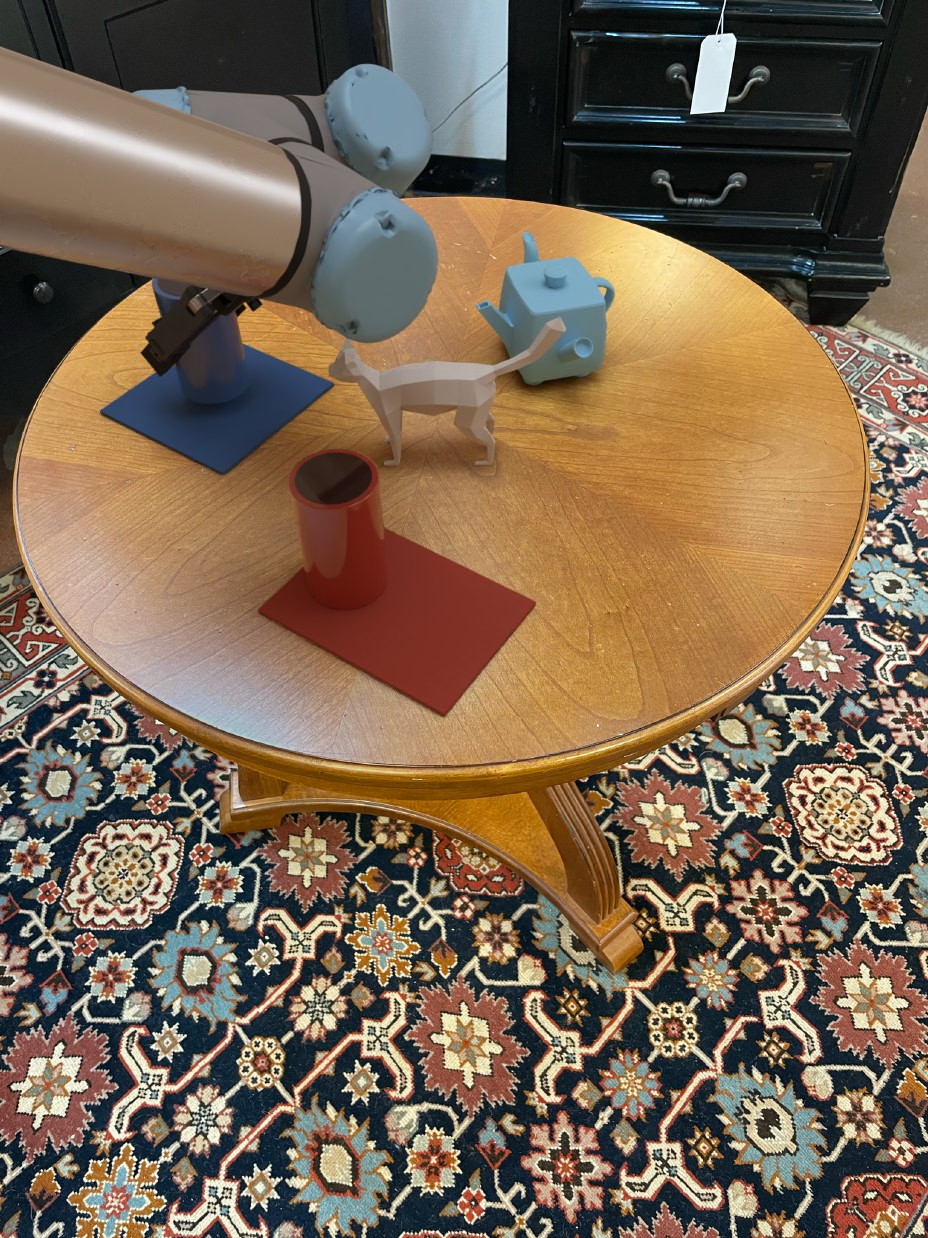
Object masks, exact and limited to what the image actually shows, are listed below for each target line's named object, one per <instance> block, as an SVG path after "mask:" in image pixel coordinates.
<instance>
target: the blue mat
mask: <svg viewBox="0 0 928 1238" xmlns="http://www.w3.org/2000/svg"><path fill="white" fill-rule="evenodd" d="M242 344H243V348H244V353H245V358H246V363H247V368H248V372H249V377H250V382H249V385H248V387H247V389H246V390H245V391H244V392H243V393H242V394H241V395H239V396H238V397H236V398H234V399H232V400H230V401H227V402H223V403H218V404H202V403H197V402H194V401H191V400H189V399H188V398H186V397H185V396H184V395H183V393H182V391H181V389H180V385H179V381H178V378H177V374H176V371H175V367H174V365H173V366H172V367H171V368H170V369H169V370H168V371H167V372H166V373H165V374H164V375H162V376H161V377H160V376H159V375H158V374H157V373H156V371H154V373H152V374H151V375H149V376H148V377H146V378H145V379H143V380H142V381H140V382H139V383H137V384H136V385H135V386H133V387H131V388H130V389H129V390H127V391H126V392H124V393H123V394H122V395H120V396H119V397H117V398H116V399H115V400H113V401H112V402H110V403H109V404H107V405H106V406H104V407H103V408H100V410H99V413H100V415H102V416H105V417H106V418H108V419H110V420H112V421H114V422H115V423H118V424H120V425H122V426H124V427H126V428H128V429H130V430H132V431H134V432H136V433H138V434H140V435H142V436H144V437H145V438H148V439H150V440H152V441H154V442H156V443H158V444H160V445H162V446H164V447H166V448H168V449H169V450H171V451H174V452H176V453H178V454H180V455H182V456H184V457H186V458H187V459H190V460H192V461H193V462H196V463H198V464H200V465H202V466H203V467H205V468H207V469H210V471H211V470H212V471H213V472H216V473H217V474H219V475H221V476H225V475H226V474H227V473H229V472H230V471H231V470H233V468H234V467H236V466H237V465H238V464H239V463H241V462H242V461H244V460H245V459H246V458H247V457H248V456H249V455H251V454H252V453H253V452H254V451H256V450H257V449H258V448H259V447H260V446H263V444H264V443H266V442H267V441H268V440H269V439H270V438H272V437H273V436H274V435H275V434H276V433H278V432H279V431H281V430H282V429H283V428H284V427H285V426H287V425H288V424H289V423H290V422H292V420H294V419H295V418H297V416H299V415H300V414H301V413H302V412H304V411H305V410H306V409H308V408H309V407H310V406H311V405H312V404H314V403H315V402H316V401H317V400H318V399H320V398H321V397H322V396H324V395H325V394H326V393H327V392H329V390H331V389H332V388H333V387H334V386H335V383H334V382H333V381H331V380H329V379H326V378H324V377H322V376H319V375H317V374H316V373H315V374H314V373H312V372H310V371H307V370H305V369H303V368H300V367H298V366H296V365H294V364H291V363H290V362H287V361H285V360H282V359H280V358H277V357H275V356H273V355H270V354H268V353H266V352H264V351H262V350H260V349H257V348H254V347H253V346H250V345H248V344H245V343H243V342H242Z"/></svg>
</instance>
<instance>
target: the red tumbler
mask: <svg viewBox="0 0 928 1238" xmlns="http://www.w3.org/2000/svg"><path fill="white" fill-rule="evenodd" d="M287 484H288V485H287V486H288V492H289V496H290V501H291V506H292V514H293V517H294V523H295V528H296V533H297V538H298V543H299V549H300V554H301V560H302V564H303V566H304V571H305V576H306V581H307V586H308V590H309V592H310V594H311V595H312V597H313V598H314V599H315V600H316V601H317V602H319V603H320V604H322V605H324V606H326V607H329V608H332V609H337V610H352V609H357V608H361V607H364V606H366V605H368V604H370V603H372V602H374V601H375V600H376V599H377V598H379V597H380V596H381V594H382V593H383V592H384V590H385V588H386V586H387V583H388V568H387V557H386V546H385V535H384V528H385V525H384V524H385V523H384V514H383V504H382V492H381V491H382V490H381V481H380V472H379V469H378V467H377V465H376V464H375V462H374V461H373V460H372V459H370V458H369V456H367V455H365V454H363V453H362V452H358V451H356V450H352V449H346V448H329V449H324V450H319V451H316V452H313V453H310V454H308V455H306V456H305V457H303V458H302V459H300V460H298V462H297V463H295V465H294V466H293V468H292V469H291V471H290V472H289V476H288V480H287Z"/></svg>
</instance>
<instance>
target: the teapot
mask: <svg viewBox="0 0 928 1238" xmlns="http://www.w3.org/2000/svg"><path fill="white" fill-rule="evenodd" d="M522 242H523V248H524V249H523V250H524V251H523V252H524V254H523V255H524V256H523V263H519V264H513V265H510V266H509V265H508V266H507V267H506V268H505V272H504V277H503V280H502V281H503V282H502V286H501V292H500V298H499V304H498V305H499V306H498V308H497V307H496V306H495V305H494V304H493V303H491V302H490V300H489V299H486V300H484V301H481V302H478V303H476V304H475V306H476V309H477V310H478V312H479V314H481V316H482V317H483V318H484V320H485V321H486V322H487V323H488V324H489V326H490V327H491V328H492V329H493V331H494V332H495V333H496V334H497V336H499V338H500V339H501V341H502V342H503V345H504V347H505V350H506V352H507V354H508V356H509V359H511V358H513V357H515V356H517V355H519V354H520V353H522V352H524V351H526V350H527V349H529V348H530V346H531V345H532V343H533V342H534V340H535V339H536V338H537V336H538V335H539V333H540V332H541V330H542V329H543V327H544V325H545V324H546V323H547V322H549V321H551V320H554V319H556V318H558V317H561V319H562V321H563V323H564V325H565V327H566V330H565V332H564V333H563V334H562V335H561V336H560V337H559V338H558V340H557V341H556V342H555V343H554V344H553V345H552V346H551V347H550V348H549V349H548V350H547V351H546V352H545V353H544V354H543V355H542V356H541V357H540V358H539V359H538V360H536V361H534V362H532V363H530V364H528V365H526V366H524V367H522V368H520V369H517V371H518V372H519V374H520V375H521V377H522V380H523V381H524V383H525V384H526V385H527V384H528V385H531V386H537V385H541V384H542V383H543V382H544V381H550V380H558V379H563V378H569V377H577V378H583V377H586V376H588V375H589V374H590V373H594V372H598V371H600V370H601V368H602V366H603V363H604V360H605V355H606V347H607V346H606V345H607V330H608V322H607V312H608V311H609V310H610V308H611V306H612V304H613V302H614V300H615V296H616V290H615V287H614V285H613V284H612V283H611V281H609V280H608V279H607V278H605V277H601V276H594V277H592V275H591V274H590V272H589V271H588V269H586V267H584V265H583V264H582V263H581V262H580V261H579V260H578V259H577V258H576V257H575V256H566V257H558V258H552V259H551V258H550V259H544V260H543V259H542V260H540V255H539V251H538V245H537V242H536V239H535V237H534V235H533V234H532V233H531V232H529V231H524V232H523V233H522ZM600 288H605V290H606V291H605V294H604V295H603V293H602V292H601V289H600Z"/></svg>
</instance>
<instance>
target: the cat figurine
mask: <svg viewBox="0 0 928 1238" xmlns="http://www.w3.org/2000/svg"><path fill="white" fill-rule="evenodd" d="M565 330H566V327H565V325H564V323H563V321H562V319H561V317H558V318H556V319H554V320H551V321H549V322H547V323H546V324H545V325H544V327H543V329H542V330H541V332H540V333H539V335H538V336H537V338H536V339H535V340H534V342H533V343H532V345H531V346H530V348H529V349H527V350H526V351H524V352H522V353H520V354H519V355H517V356H515V357H513V358H509V359H506V360H503V361H501V362H498V363H496V364H486V363H477V362H455V361H454V362H453V361H442V360H430V361H424V362H415V363H409V364H402V365H399V366H395V367H392V368H389V369H385V370H381V371H380V370H378V369H375V368H374V367H372V366H369V365H368V364H365V362H363V360H362V358H361V356H359V354H358V352H357V348H356V347H355V345H354V344H353V342H352V341H351V340H350V339H348V338H346V337H344V338H345V339H344V341H343V344H342V346H341V350H340V351H339V352H338V353H337V356H336V358H335V360H334V361H333V362H332V363H330V364H329V365H328V376H329V377H330V378H332V379H334V380H336V381H338V382H341V383H347V384H355V383H357V384H358V386H359V388H360V390H361V391H362V393H363V394H364V396H365V398H366V400H367V401H368V403H369V405H370V406H371V408H372V409H373V410H374V412H375V414H376V416H377V418H378V419H379V421H380V423H381V425H382V427H383V428H384V430H385V432H386V434H387V436H386V437H385V439H384V440H385V441H384V442H385V443H390V447H391V450H392V454H393V458H394V459H389V460H388V459H387V460H384V461H383V466H387V467H389V466H391V467H392V466H393V467H394V466H400V463H401V457H402V440H403V439H402V438H403V436H402V435H403V434H402V433H403V430H402V429H403V414H404V412H409V413H414V414H420V415H426V416H432V417H435V416H439V415H444V414H446V413H449V412H452V411H456V412H455V416H454V421H453V425H454V426H455V427H456V428H457V429H458V430H459V431H460V432H461V433H462V434H463V435H464V436H466V438H467V439H469V440H471V441H473V442H476V443H478V444H480V445H483V446H485V447H486V451H487V459H486V460H474V461H473V462H474V466H492V465H493V463H494V461H495V455H496V445H497V444H496V440H495V438H494V436H493V435H494V427H495V417H494V416H493V414H492V413H491V409H492V407H493V403H494V400H495V397H496V393H497V388H496V387H497V386H496V381H495V380H496V377H499V376H502V375H505V374H508V373H510V372H513V371H518V369H520V368H522V367H524V366H526V365H528V364H530V363H532V362H534V361H536V360H538V359H539V358H540V357H541V356H542V355H543V354H544V353H545V352H546V351H547V350H548V349H549V348H550V347H551V346H552V345H553V344H554V343H555V342H556V341H557V340H558V338H559V337H560V336H561V335H562V334H563V333H564V332H565Z"/></svg>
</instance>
